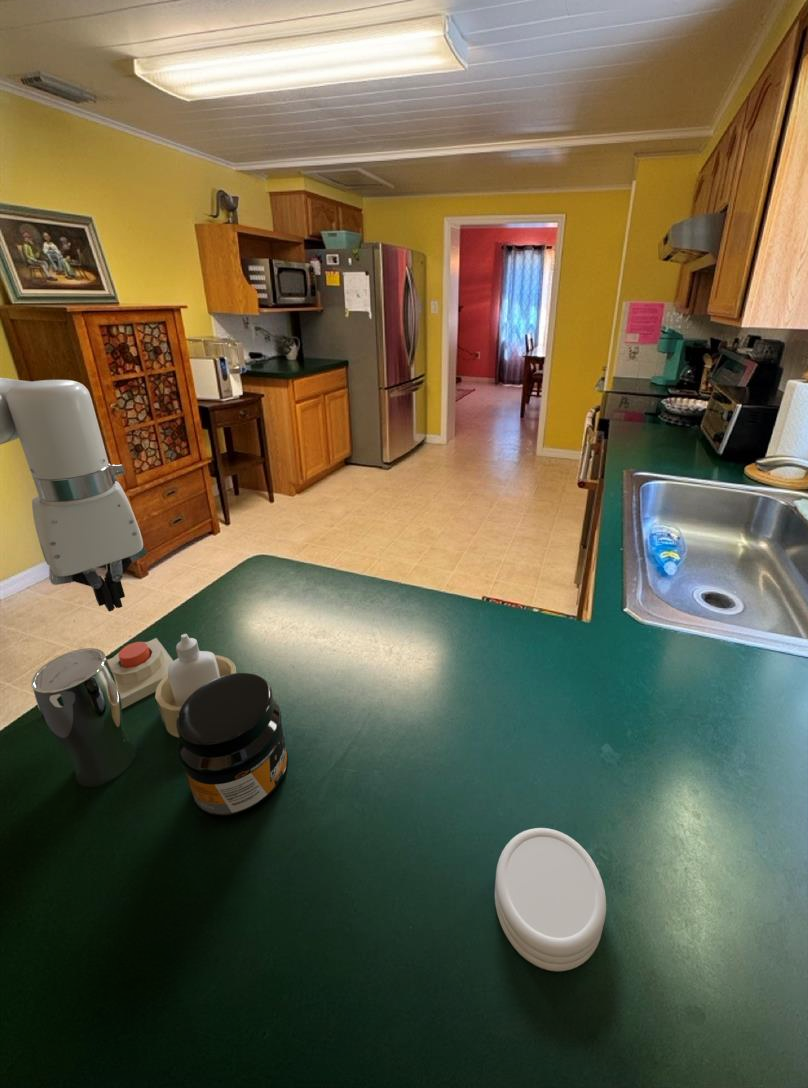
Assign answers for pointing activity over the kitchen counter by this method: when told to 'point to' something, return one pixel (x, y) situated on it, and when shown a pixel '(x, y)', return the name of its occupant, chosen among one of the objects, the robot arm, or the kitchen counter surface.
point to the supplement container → (232, 745)
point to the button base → (141, 674)
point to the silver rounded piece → (85, 714)
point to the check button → (134, 654)
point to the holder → (167, 700)
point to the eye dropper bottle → (190, 669)
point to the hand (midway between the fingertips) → (112, 604)
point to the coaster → (550, 899)
